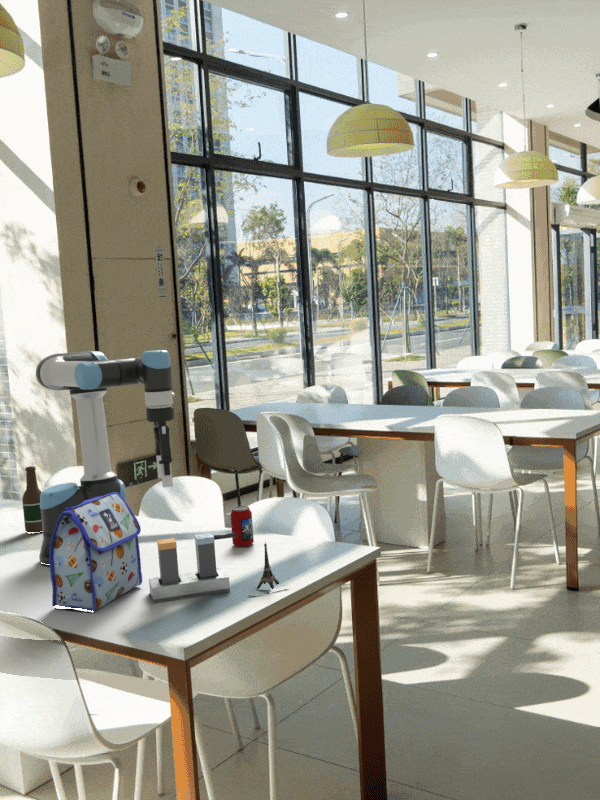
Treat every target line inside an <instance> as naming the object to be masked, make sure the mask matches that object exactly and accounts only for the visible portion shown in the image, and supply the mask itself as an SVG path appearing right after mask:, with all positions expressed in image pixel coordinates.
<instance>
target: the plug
mask: <svg viewBox="0 0 600 800" xmlns="http://www.w3.org/2000/svg"><path fill="white" fill-rule="evenodd" d="M156 543H157V552H158V555H157V556H158V565H159V575H160V576H159V577H160V579H161V585H164V584H171V583H178V582H179V574H180V573H179V572H180V571H179V565H178V564H179V563H178V552H177V541H176V539H175V537H171V538H163V539H157V540H156Z"/></svg>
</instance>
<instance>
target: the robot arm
mask: <svg viewBox="0 0 600 800" xmlns="http://www.w3.org/2000/svg"><path fill="white" fill-rule="evenodd" d="M35 378H36V380H37V382H38V383H39V385H40V386H42V388H45V389H48V390H51V391H69V396H70V397H71V398H73V399H74V400H75V405H76V413H77V423H78V431H79V438H80V439H79V440H80V447H81V456H82V465H83V475H82V476H81V478H80V479H79V480H80V481H79V483H80V485H78V484H77V483H76V482H65V483H60V484H56V485H52V486H50V487H48V488H46V489H43V491H41V492H42V493H41V495H40V509H41V518H42V528H43V533H42V537H43V538H42V541H41V542H42V543H41V546H40V551H39V555H38V556H39V563H40V562H42V563H45V564H50V544H51V539H52V535H53V532H54V530H55V527H56V525H57V520H58V518H59V515H60V514H61V513H62V512H64V511H66V510H65V508H70V507H74V506H77V505H79V504H81V503H82V502H83V501H85V500H89V499H92V498H95V497H99V496H104V495H107V494H110V493H112V492H118V493H119V494H120V495H121V496H122V497H123V499H124V500H125V502H126V503H127V490H126V487H125V484H124V482H123V481H122V480H121V479H119V478H118V475H117V473H115V471H113V470H112V466H111V465H112V463H111V455H110V448H109V438H108V431H107V430H108V429H107V422H106V421H107V420H106V412H105V404H104V403H105V402H104V397H105V395H106V393H107V392H108V389H107V388H113V387H114V388H115V387H123V386H124V387H125V386H132V385H133V386H134V385H135V386H136V385H144V402H145V406H146V408H145V409H146V410H145V412H146V413H145V414H146V421H147V422H148V423H153V425H154V427H153V433H154V443H155V445H154V446H155V449H154V450H155V454H156V455H155V457H156V469H157V471H156V472H157V479H161V480H162V488H163V489H164V488H171V487H174V482H173V481H174V479H173V469H172V461H173V458H172V452H171V444H170V443H171V441H170V440H171V439H170V427H169V426H168V425H167V422H170V421H173V420H174V419H175V408H174V406H172V405H173V404H174V399H173V398H174V397H175V396H176V394H175V393H174V392H173V381H172V362H171V358H170V352H169V351H168V350H166V349H159V350H158V349H157V350H155V349H154V350H146V351H143V352H142V354H141V356H135V357H134V356H132V357H131V356H130V357H129V358H118V359H117V358H116V359H108V357H107V356H106V355H105V354H104V353H103V352H101V351H99V350H96V351H95V350H94V351H93V350H87V351H77V352H76V351H74V352H65V353H64V352H63V353H55V354H51V355H48V356H46V357H44V358H43V359H42V360H40V361H39V362H38V364H37V366H36V369H35Z"/></svg>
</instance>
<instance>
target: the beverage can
mask: <svg viewBox="0 0 600 800" xmlns="http://www.w3.org/2000/svg"><path fill="white" fill-rule="evenodd" d="M231 509H232V510H231V512H230V525H231V526H230V527H231V533H236V537H233V538H231V539H232V544H233V546H235V547H237V548H246V546H247V547H249V545H250V546H251V545H252V544H254V527H253V515H252V512H253V511H251V509H250V506H246V505H245V506H244V505H241V506H235V507H232V508H231Z"/></svg>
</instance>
